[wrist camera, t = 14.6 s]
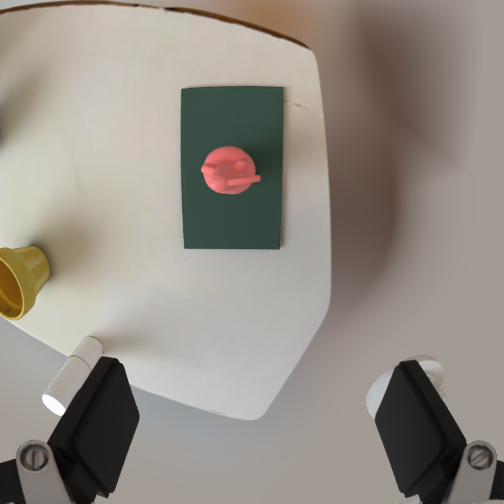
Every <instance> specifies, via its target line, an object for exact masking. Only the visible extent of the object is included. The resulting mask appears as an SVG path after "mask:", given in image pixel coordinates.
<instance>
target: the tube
mask: <svg viewBox="0 0 504 504" xmlns="http://www.w3.org/2000/svg"><path fill="white" fill-rule="evenodd" d="M103 351H104V350H103V346H102V345H101V343H100V342H99V341H98V340H97V339H95V338H93V337H90V336H87V337H84V338H83V340H82V341H81V342H80V344H79V345H78V346H77V348H76V349H75V350H74V352H73V353H72V354H71V356H70V357H69V359H68V360H67V361H66V363H65V364H64V365H63V367H62V368H61V370H60V371H59V372H58V374H57V375H56V377H55V378H54V380H53V381H52V383H51V384H50V385H49V387H48V388H47V390H46V391H45V393H44V394H43V396H42V401H43V402H44V404H45V405H46V406H47V407H48V408H49V409H50V410H51V411H52V412H54V413H55V414H57V415H60V416H63V414H64V412H65V411H66V409H67V407H68V406H69V404H70V402H71V401H72V399H73V397H74V396H75V394H76V393H77V391H78V390H79V389H80V388H81V387H82V385H83V383H84V382H85V380H86V379H87V377H88V376H89V374H90V372H91V371H92V369H93V368H94V366H95V365H96V363H97V362H98V360H99V358H100V357H101V356H102V354H103Z"/></svg>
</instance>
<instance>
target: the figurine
mask: <svg viewBox="0 0 504 504" xmlns="http://www.w3.org/2000/svg"><path fill="white" fill-rule="evenodd" d="M201 171H202V172H203V173H204V178H205V181H206V183H207V185H208V186H209V187H210V188H211V189H212V190H214V191H215V192H218V193H224V194H238V193H241V192H243V191H245V190H246V189H247V188H249V186H250V185H251V184H252V183H253V182H258V181H260V175H255V165H254V162H253V160H252V158H251V157H250V156H249V155H248V154H247V153H245V152H244V151H243V150H242V149H240V148H238V147H234V146H224V147H220V148H217V149H215V150H213V151H212V152H211V153H210V154H209V155H208V156H207V158H206V160H205V163H204V165H203V166H202V168H201Z"/></svg>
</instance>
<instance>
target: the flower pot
mask: <svg viewBox="0 0 504 504" xmlns="http://www.w3.org/2000/svg"><path fill="white" fill-rule="evenodd" d="M49 276H50V266H49V262H48V259H47V257H46V256H45V254H44V253H43V251H42V250H41V249H39V248H38V247H35V246H27V247H22V248H16V249H10V248H0V315H1V316H3V317H4V318H6V319H9V320H18V319H20V318H22V317H23V316H24V315H25V314H26V313H27V312H28V311H29V310H30V309H31V308H32V307H33V305H34V303H35V300H36V296H37V294H38V293H39V291H40V290H41V288H42V287H43V286H44V284H45V283H46V282H47V280H48V278H49Z"/></svg>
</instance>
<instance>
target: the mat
mask: <svg viewBox="0 0 504 504" xmlns="http://www.w3.org/2000/svg"><path fill="white" fill-rule="evenodd" d="M224 146H234V147H238V148H240V149H242V150H243V151H244V152H245V153H247V154H248V155H249V156H250V157H251V158H252V160H253V162H254V165H255V175H260V181H258V182H253V183H252V184H251V185H250V186H249V188H247V189H246V190H245V191H243V192H241V193H238V194H224V193H218V192H215V191H214V190H212V189H211V188H210V187H209V186H208V185H207V183H206V181H205V178H204V173H203V172H202V171H201V168H202V166H203V165H204V163H205V160H206V158H207V156H208V155H209V154H210V153H211V152H212V151H213V150H215V149H217V148H220V147H224ZM282 158H283V87H263V86H225V87H201V88H186V89H181V188H182V214H183V234H184V248H185V249H280V225H281V196H282Z"/></svg>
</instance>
